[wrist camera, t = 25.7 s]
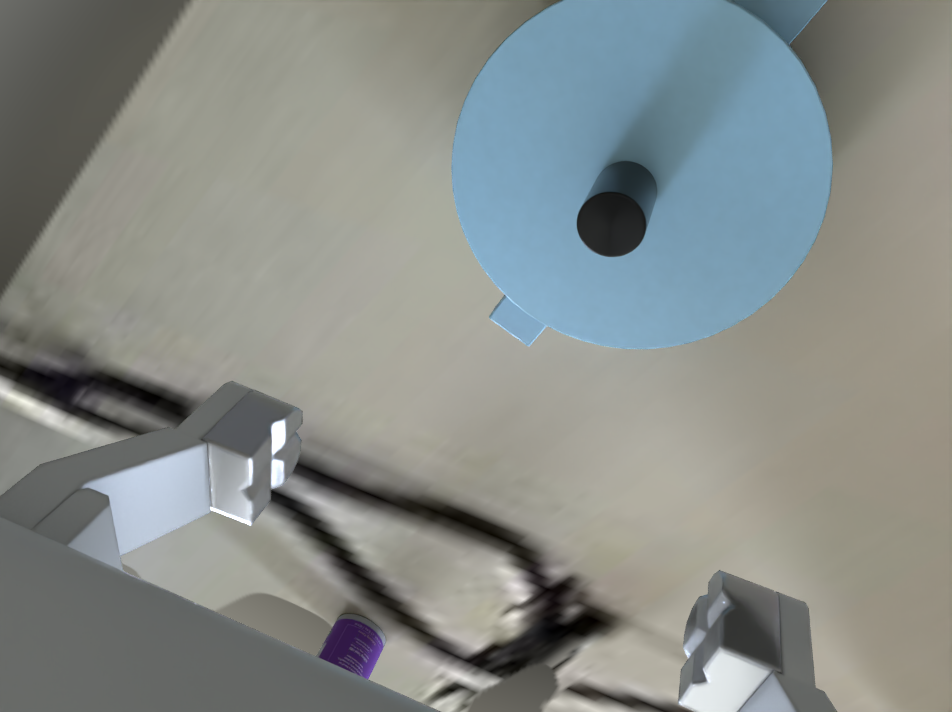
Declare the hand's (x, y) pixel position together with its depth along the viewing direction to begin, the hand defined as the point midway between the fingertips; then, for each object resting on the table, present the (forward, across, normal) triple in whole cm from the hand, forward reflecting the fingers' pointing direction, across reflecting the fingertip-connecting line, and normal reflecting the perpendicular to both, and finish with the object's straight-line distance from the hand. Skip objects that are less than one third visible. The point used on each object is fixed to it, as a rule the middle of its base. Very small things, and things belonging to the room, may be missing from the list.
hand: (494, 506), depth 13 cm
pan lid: (+18, 0, 0) cm, 18 cm away
